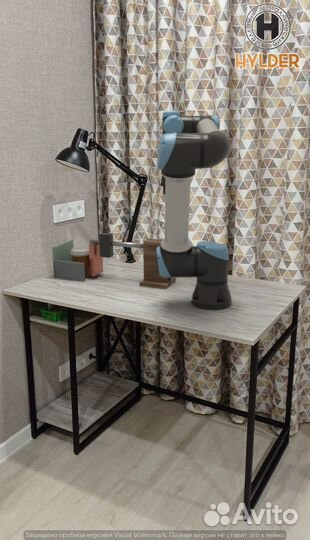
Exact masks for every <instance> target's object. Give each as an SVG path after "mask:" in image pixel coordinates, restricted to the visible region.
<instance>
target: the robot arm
mask: <svg viewBox="0 0 310 540" xmlns="http://www.w3.org/2000/svg"><path fill="white" fill-rule="evenodd" d="M161 125H162V126H161V127H162V128H161V129H162V130H161V131H162V135H161V136H160V138H159V142H158V143H159V144H158V149H157V160H156V167H157V169H158V170H161V171H160V173H161V179H160V180H161V181H160V185H159V186H160V187H162V203H164V239H162V241H161V244H160V246H159V247H157V258H158V266H159V273H160V275H161V276H162V277H168V278H176V279H177V278H179V279H181V278H196V285H194V286H195V287H194V290H193V292H192V295H191V303H192V305H193V306H195V307H196V308H200V309H203V310H221V309H227V308H229V307H230V306H231V305H232V304H233V303H232V298H233V297H232V295H231V292H230V291H231V290H230V289H229V283H228V282H229V280H228V279H229V277H228V276H229V275H228V273H229V260H230V259H229V258H230V257H229V249H228V247H227V246H226V245H224V244H222V243H218V242H215V241H208V240H206V241H205V240H203V241H198V242H197V243H196V245H193V243H192V241H191V240H190V239H189V229H190V228H189V227H190V225H189V224H190V203H191V202H190V201H191V199H190V198H191V179H192V178H194V176H196V169H197V170H200V169H203V170H204V169H210V168H215V166H218V165H220V164H221V163H222V162H223V161H224V160H226V159H227V157H228V155H229V154H230V150H231V143H230V142H231V141H230V140H229V138H228V137H227V135H226V134H225V133H224V132H222V131H220V128H221V127H220V126H221V124H220V117H219V116H218V115H211V114H210V115H209V114H208V115H181V112H180V111H179V110H176V111H175V110H167V111H166V110H165V111H163V112H162V117H161Z"/></svg>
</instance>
